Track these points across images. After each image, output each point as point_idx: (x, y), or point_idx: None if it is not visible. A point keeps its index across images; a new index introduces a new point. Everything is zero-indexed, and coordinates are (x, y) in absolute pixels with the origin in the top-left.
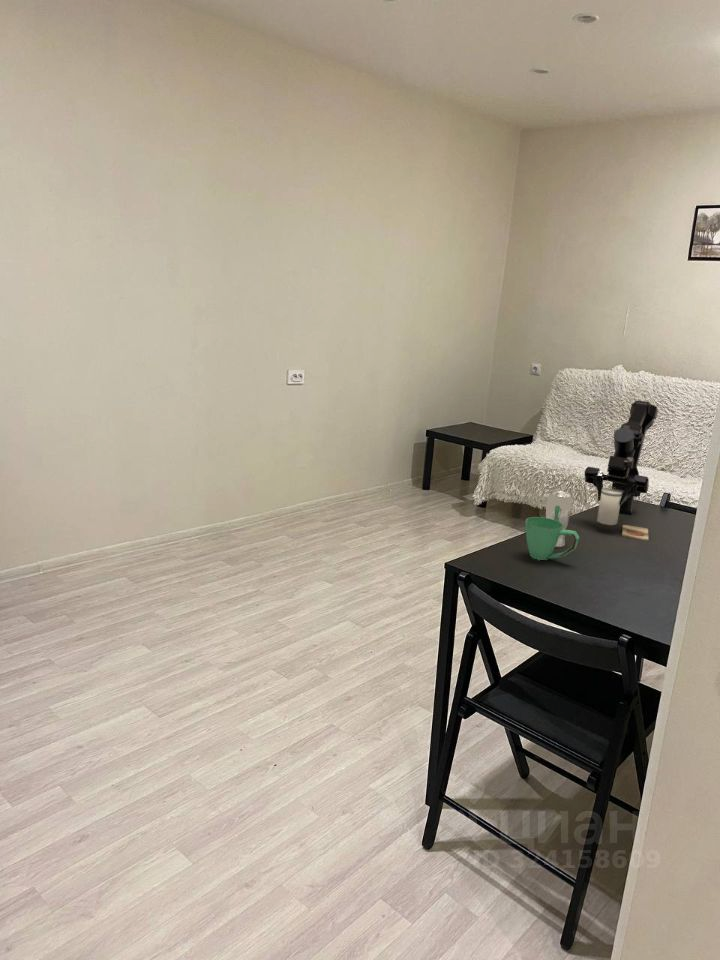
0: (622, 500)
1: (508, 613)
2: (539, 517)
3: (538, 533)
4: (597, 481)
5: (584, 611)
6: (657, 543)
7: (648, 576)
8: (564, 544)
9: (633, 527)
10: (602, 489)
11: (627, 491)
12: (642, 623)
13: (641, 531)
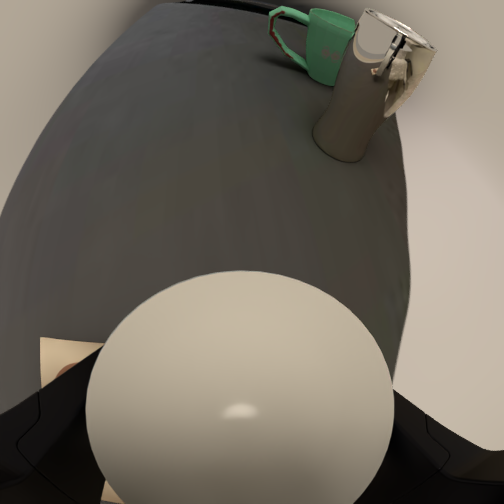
0: (100, 347)
1: None
2: None
3: (335, 23)
4: (493, 454)
5: (224, 9)
6: (20, 322)
7: (121, 70)
8: (313, 132)
9: (108, 484)
10: (386, 396)
11: (14, 414)
12: (169, 8)
13: None
